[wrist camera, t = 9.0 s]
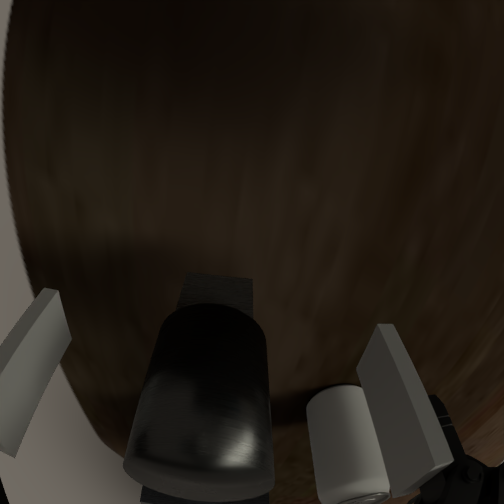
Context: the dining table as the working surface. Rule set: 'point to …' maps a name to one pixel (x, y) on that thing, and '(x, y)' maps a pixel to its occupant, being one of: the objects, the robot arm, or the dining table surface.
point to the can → (345, 448)
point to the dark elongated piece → (206, 399)
